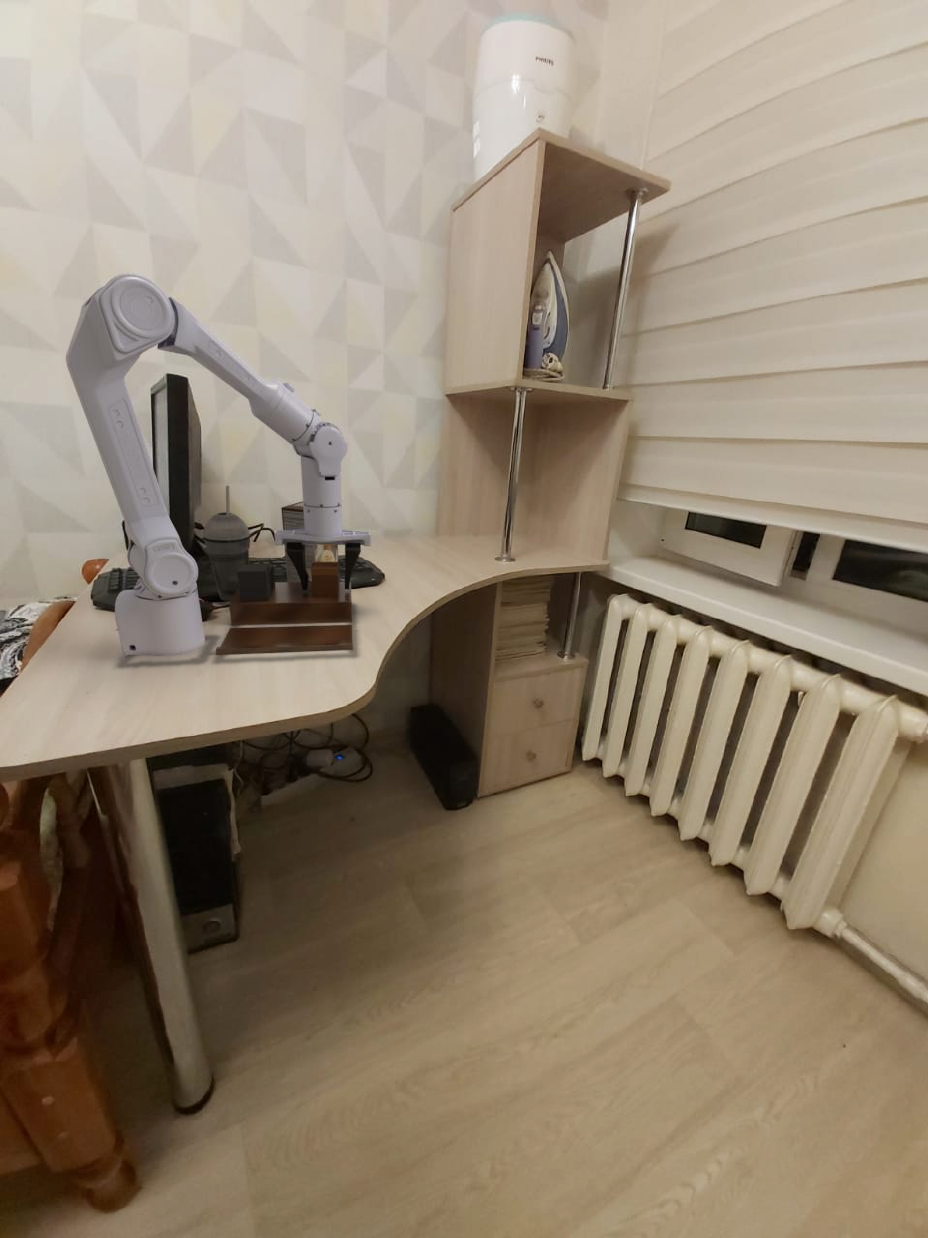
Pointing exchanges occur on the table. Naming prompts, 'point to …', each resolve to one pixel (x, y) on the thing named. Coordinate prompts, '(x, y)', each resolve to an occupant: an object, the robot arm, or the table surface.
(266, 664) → the table surface
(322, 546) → the coffee box
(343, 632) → the shoe stand
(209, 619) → the table surface
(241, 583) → the dark grey block
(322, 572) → the brown block
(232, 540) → the beverage cup
